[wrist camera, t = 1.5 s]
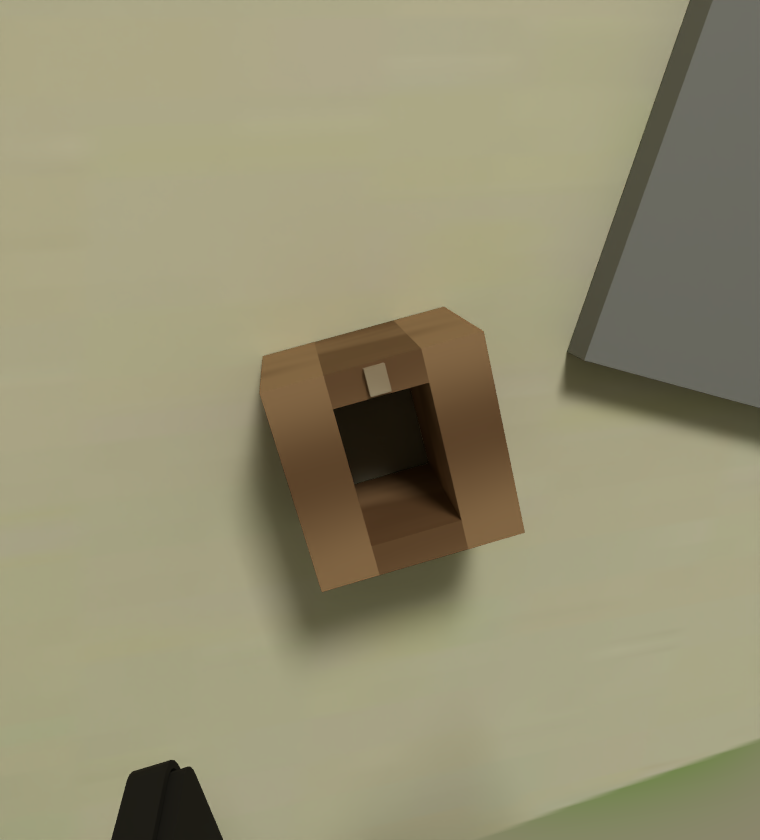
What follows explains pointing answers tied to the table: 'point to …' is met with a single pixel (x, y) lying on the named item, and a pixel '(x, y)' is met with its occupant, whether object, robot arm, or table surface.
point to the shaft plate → (689, 222)
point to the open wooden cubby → (405, 490)
